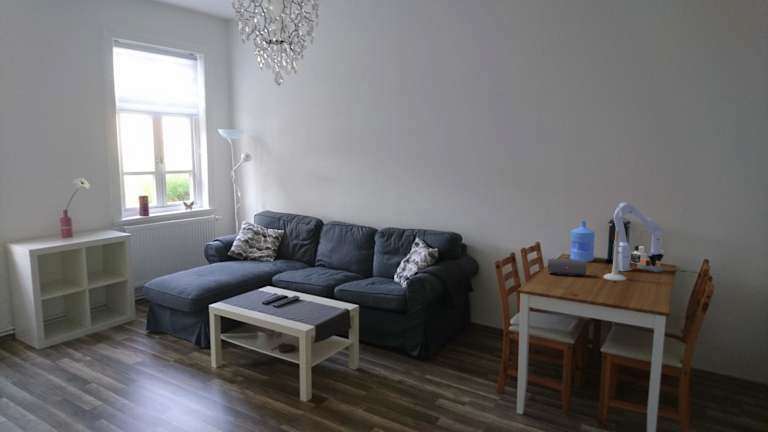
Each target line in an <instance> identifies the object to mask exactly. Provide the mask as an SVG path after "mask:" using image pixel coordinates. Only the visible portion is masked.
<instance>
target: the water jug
mask: <svg viewBox="0 0 768 432" xmlns="http://www.w3.org/2000/svg"><path fill="white" fill-rule="evenodd" d="M586 222H587V221H585V220H580V226H579V227H577V228H574V229H572V230H571V234H570V237H571V238H570V240H571V241H570V242H571V244H570V257H569V259H572V260H583V261H586V263H588V262H593V261H594V260H595V259H594V258H595V257H594V256H595V255H594V253H595V252H594V251H595V235H596V234H595V231H594V230H592V229H590V228H588V227H587V225H586Z"/></svg>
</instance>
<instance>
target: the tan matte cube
mask: <svg viewBox="0 0 768 432" xmlns="http://www.w3.org/2000/svg"><path fill="white" fill-rule="evenodd" d="M661 264H662V261H661V262H660V261H656V265H655V266H651V261H650V267H655V268H659V267H660V266H661ZM661 267H662V266H661Z"/></svg>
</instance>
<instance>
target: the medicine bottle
mask: <svg viewBox="0 0 768 432" xmlns="http://www.w3.org/2000/svg"><path fill="white" fill-rule="evenodd" d="M633 251H634V252H632V251H631V255H630V264H631V263H632V264H636V265H637V264H640V259H647V258H648V252H645V246H643V245H635V246H634V249H633Z"/></svg>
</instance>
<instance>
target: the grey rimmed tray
mask: <svg viewBox="0 0 768 432" xmlns="http://www.w3.org/2000/svg"><path fill="white" fill-rule="evenodd" d="M650 262H651V261H650V259H649V258H648V259H640V264H636V268H637V269H641V270H645V271H649V272H655V273H659V272H664V269H665V267H664V266H660V267H659V268H655V267H650Z"/></svg>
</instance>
